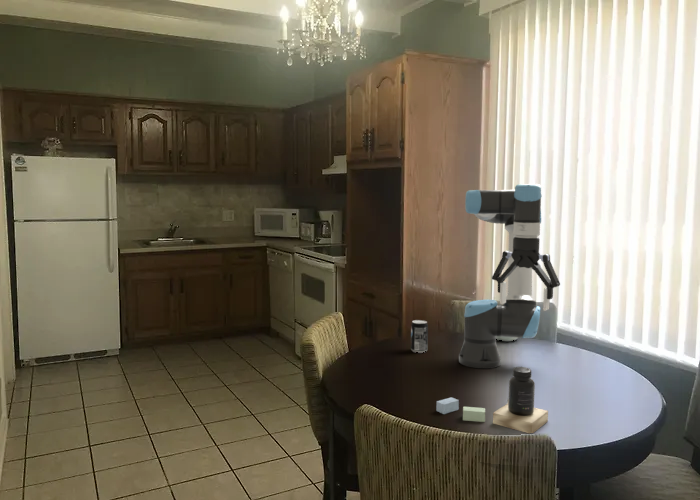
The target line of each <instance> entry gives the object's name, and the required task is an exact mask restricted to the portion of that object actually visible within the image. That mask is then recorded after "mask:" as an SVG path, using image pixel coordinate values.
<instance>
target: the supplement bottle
mask: <svg viewBox="0 0 700 500" xmlns="http://www.w3.org/2000/svg"><path fill="white" fill-rule="evenodd" d="M532 376H533V375H532V369H530V368H528V367H524V366H516V367H513V369H512V377H511V378H510V379H508V398H507V404H508V410H509V411H510V412H511V413H512V414H515V415H519V416H529V415H531V414H533V412H534V408H535V394H536V393H535V389H536V383H535V381H534V379H532Z"/></svg>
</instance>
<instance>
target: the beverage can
mask: <svg viewBox="0 0 700 500" xmlns="http://www.w3.org/2000/svg"><path fill="white" fill-rule="evenodd" d="M410 325H411V326H410V350H411V351H412V352H413V353H416V352H418V353H417V354H422V353H423V352H424V353H426V352H427V351H428V346H429V344H428V342H429V339H428V337H429V325H428V321H426V320H424V319H423V320H421V319H415V320H412V322H411V324H410ZM425 351H426V352H425Z"/></svg>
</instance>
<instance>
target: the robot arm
mask: <svg viewBox="0 0 700 500" xmlns="http://www.w3.org/2000/svg"><path fill="white" fill-rule="evenodd" d="M464 205H465V212H466V213H467V214H471V215H474V216H475V218H477V219H479V220H481V221H484V222H487V223H490V224H500V225H501V224H503V225H504V229H505V230H506V232H507V233H508V250H504V251H502V253H501V259H500V261H499V263H498V264H497V267H496V269H495V271H494V273H493V275H492V276H491V279H492V280H493V281H495V282H497V293H499V304H498V301H497V300H495V299H478V300H473V301H469V302H467V304H466V305H465V307H464V315H463V317H464V333H463V344H462V347H461V349H460V352H459V354H458V363H460V365H463V366H465V367H468V368H474V369H494V368H497V367H499V366H501V359H502V358H501V355H500V351H499V349H498V346H497V340H496V336H501V337H517V339H518V338H519V339H532V338H535V337H536V335H537V333H538V330H539V325H540V317H541V306H540V305H539V306H538V305H537V301H536V299H535V298H534V297H533V271H534V272H535V273H536V275H537V276H538V278H539V279H540V281H542V283H543V284H544V286H545V288H544V289H543V307H542V310H543V312H546V311H548V310H550V300H552V299H553V296H554V288H557V287H559V286H561V282H560V280H559V278H558V275H557V274H556V271H555V269H554V267H553V264H552V262H551V255H550V254H549V253H546V254H541V253H540V237H539V236H540V235H541V224H542V209H541V206H542V187H541V185H540V184H538V183H536V184H535V183H534V184H533V183H531V184H530V183H528V184H527V183H524V184H523V183H522V184H520V183H519V184H516V185H515V186H514V189H498V190H495V189H492V190H491V189H482V190H481V189H474V190H473V189H469V190H467V191H466V192H465V203H464ZM539 261H541V262H542V263H543V266H544V268H545V270H546V272H547V273H546V272H545V271H544V270H543V268H542V267H541V264H540V263H539ZM507 263H508V264H507ZM506 265H508V266H507V268H506V270H505V271H504V272H503V270H504V269H505V267H506ZM502 272H503V273H502ZM506 279H507V281H506Z"/></svg>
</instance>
